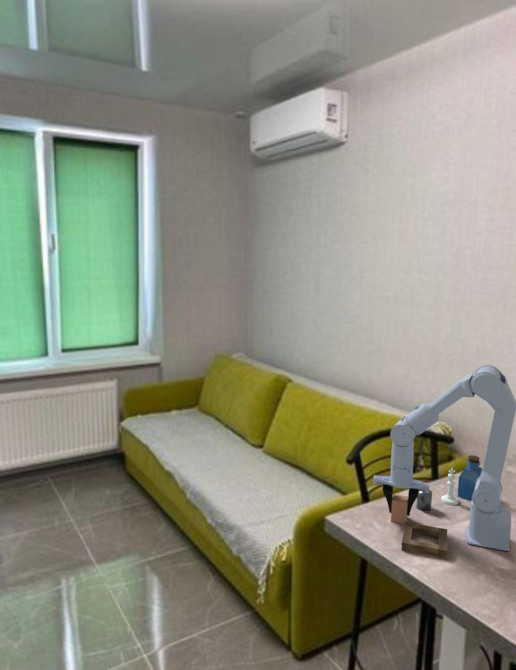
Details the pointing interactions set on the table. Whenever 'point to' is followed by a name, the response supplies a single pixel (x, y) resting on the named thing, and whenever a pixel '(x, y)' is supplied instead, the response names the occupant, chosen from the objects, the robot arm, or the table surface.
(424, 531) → the walnut collar
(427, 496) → the metal cylinder
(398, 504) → the terracotta block
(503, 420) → the robot arm
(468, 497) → the perfume bottle
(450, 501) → the chess piece
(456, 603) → the table surface
